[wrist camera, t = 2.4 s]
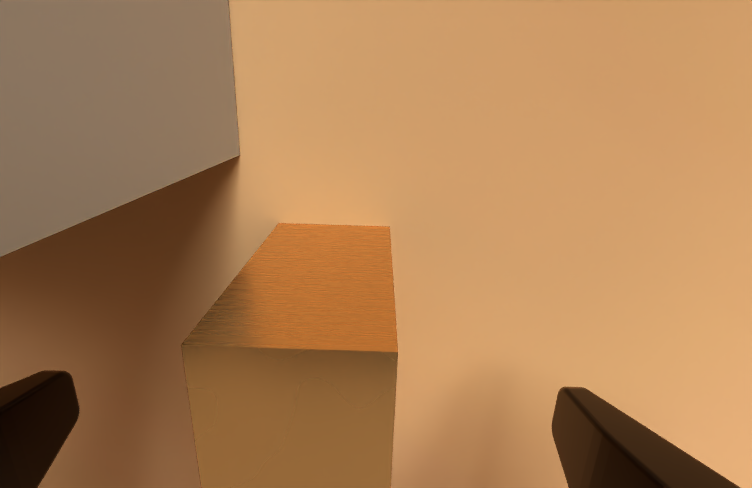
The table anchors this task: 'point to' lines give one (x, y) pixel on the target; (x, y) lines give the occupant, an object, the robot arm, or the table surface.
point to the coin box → (107, 106)
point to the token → (299, 364)
